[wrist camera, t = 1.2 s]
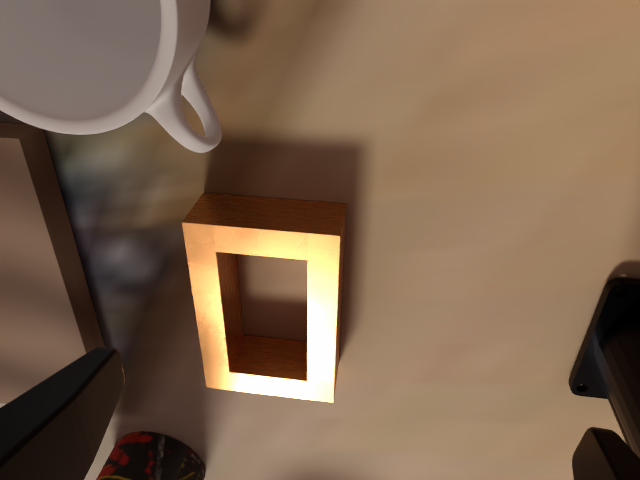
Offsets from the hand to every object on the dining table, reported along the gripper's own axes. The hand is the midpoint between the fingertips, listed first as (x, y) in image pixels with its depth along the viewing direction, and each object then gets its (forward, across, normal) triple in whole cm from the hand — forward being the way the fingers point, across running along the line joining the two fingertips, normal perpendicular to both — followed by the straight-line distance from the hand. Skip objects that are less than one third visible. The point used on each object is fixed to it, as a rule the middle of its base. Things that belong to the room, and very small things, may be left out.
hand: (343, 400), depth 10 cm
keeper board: (+12, +18, +9) cm, 23 cm away
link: (+12, +4, +7) cm, 14 cm away
